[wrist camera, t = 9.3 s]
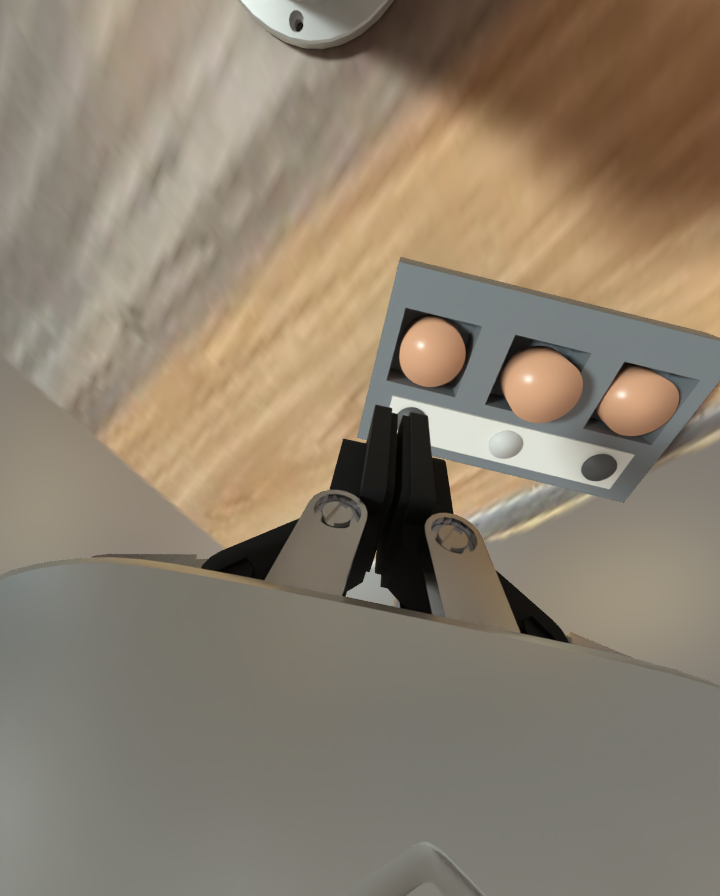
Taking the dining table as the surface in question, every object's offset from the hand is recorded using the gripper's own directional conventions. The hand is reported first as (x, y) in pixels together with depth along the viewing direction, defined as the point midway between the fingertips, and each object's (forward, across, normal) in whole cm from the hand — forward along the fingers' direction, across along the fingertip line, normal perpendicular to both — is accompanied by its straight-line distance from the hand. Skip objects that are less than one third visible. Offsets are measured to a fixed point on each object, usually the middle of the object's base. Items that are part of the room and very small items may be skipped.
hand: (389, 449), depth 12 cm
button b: (+18, -11, +3) cm, 21 cm away
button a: (+20, -3, +2) cm, 20 cm away
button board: (+21, -11, +4) cm, 24 cm away
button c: (+20, -19, +3) cm, 28 cm away
